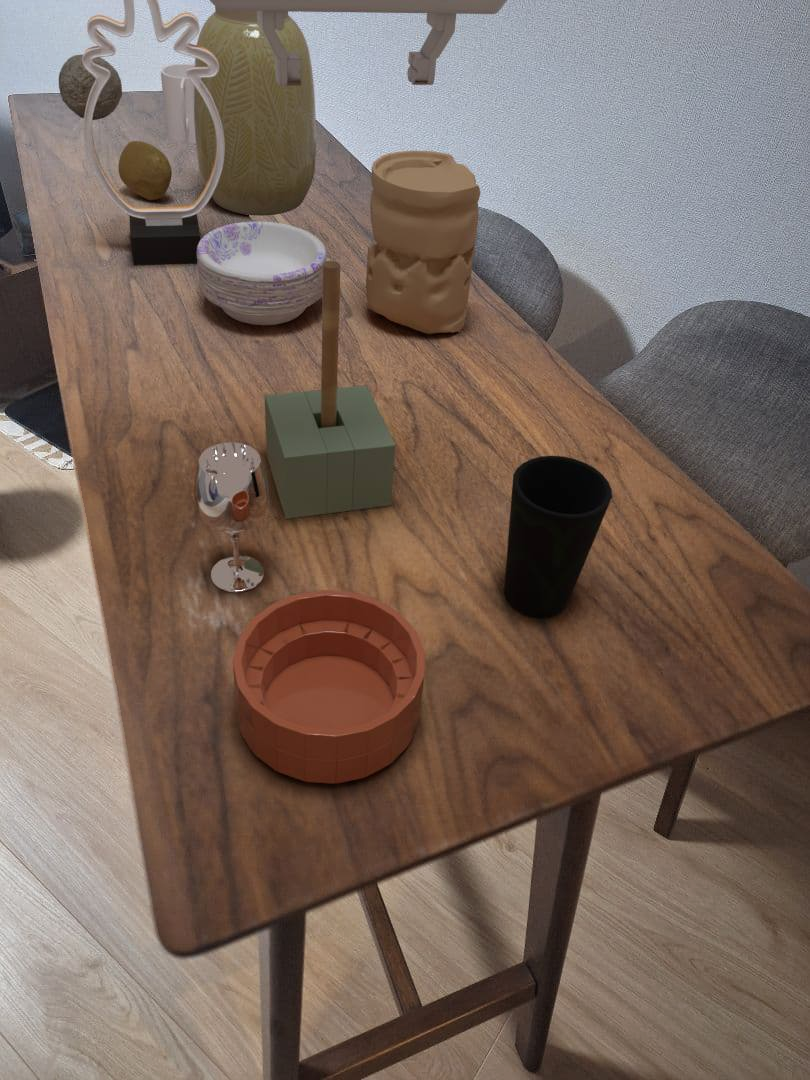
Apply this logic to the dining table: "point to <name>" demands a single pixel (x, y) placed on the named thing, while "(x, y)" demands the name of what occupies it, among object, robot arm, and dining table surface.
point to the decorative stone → (88, 87)
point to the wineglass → (232, 507)
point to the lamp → (151, 228)
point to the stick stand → (328, 453)
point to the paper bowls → (261, 271)
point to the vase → (256, 117)
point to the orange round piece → (328, 685)
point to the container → (422, 240)
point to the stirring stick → (330, 342)
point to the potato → (145, 170)
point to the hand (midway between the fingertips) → (355, 83)
